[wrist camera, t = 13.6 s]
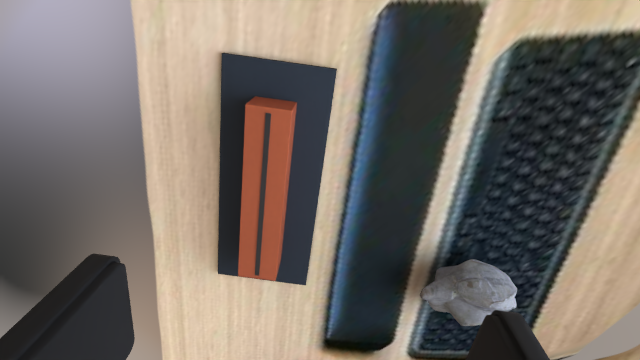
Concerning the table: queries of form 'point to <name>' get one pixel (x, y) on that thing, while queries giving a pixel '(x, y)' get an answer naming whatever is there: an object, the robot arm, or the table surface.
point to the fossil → (470, 291)
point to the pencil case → (265, 185)
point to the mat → (306, 161)
